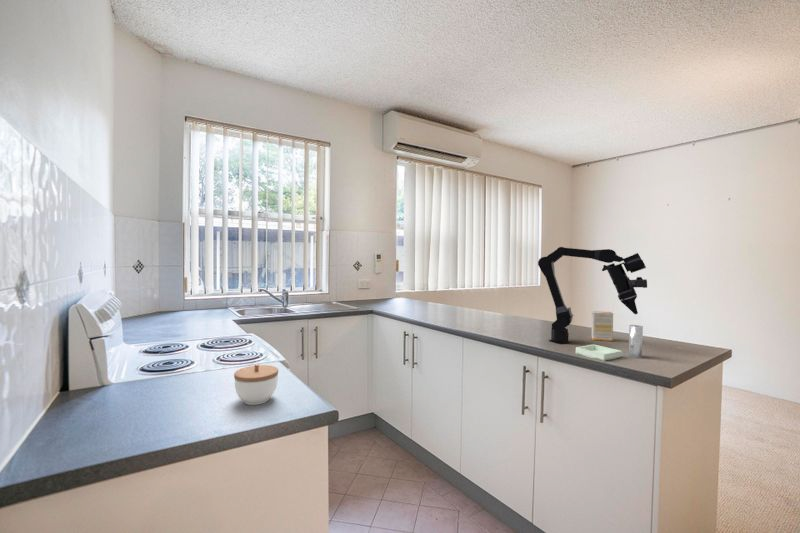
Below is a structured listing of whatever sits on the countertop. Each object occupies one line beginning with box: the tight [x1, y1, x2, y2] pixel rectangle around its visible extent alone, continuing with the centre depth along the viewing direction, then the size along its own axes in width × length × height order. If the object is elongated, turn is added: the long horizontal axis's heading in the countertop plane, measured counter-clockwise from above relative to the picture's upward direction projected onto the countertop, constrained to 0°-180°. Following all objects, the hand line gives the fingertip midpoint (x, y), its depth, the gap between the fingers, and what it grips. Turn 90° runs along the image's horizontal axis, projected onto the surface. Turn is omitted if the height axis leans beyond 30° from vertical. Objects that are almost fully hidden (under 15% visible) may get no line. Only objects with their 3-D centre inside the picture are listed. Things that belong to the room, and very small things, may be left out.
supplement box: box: [591, 310, 614, 342], centre depth 170 cm, size 8×5×13 cm, turn 71°
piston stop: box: [628, 324, 644, 359], centre depth 142 cm, size 4×4×12 cm
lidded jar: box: [233, 363, 279, 406], centre depth 96 cm, size 11×11×9 cm
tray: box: [575, 344, 623, 362], centre depth 143 cm, size 12×12×2 cm
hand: (636, 312), depth 150 cm, fingers open, 9 cm apart
